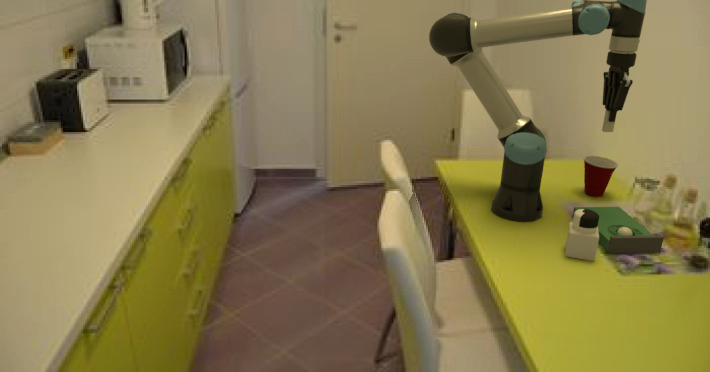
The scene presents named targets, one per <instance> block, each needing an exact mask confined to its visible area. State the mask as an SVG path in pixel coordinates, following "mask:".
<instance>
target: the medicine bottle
mask: <svg viewBox="0 0 710 372" xmlns="http://www.w3.org/2000/svg"><path fill="white" fill-rule="evenodd" d="M572 219H573V220H572V221H570V222H569V225H568V229H567V230H568V231H567V234H566V240H565V257H566V258H571V259H572V258H573V259H579V260H584V261H590V262H591V261H592V262H595V260H596V255H597V251H598V245H599V242H598V241H599V232H598V222H599V215H598V213H596V212H594V211H592V210H589V209H579V210H576V211H575V213H574V217H573V218H572Z"/></svg>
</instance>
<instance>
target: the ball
mask: <svg viewBox="0 0 710 372" xmlns="http://www.w3.org/2000/svg"><path fill="white" fill-rule="evenodd" d="M617 233H618V234H620V235H622V236H633V233H632V231H631V230H630V229H629V228H627V227H621V228H619V229H618V231H617Z"/></svg>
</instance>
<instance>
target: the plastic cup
mask: <svg viewBox="0 0 710 372" xmlns="http://www.w3.org/2000/svg"><path fill="white" fill-rule="evenodd" d="M583 163H584V167H583V169H584V177H583V178H584V179H583V180H584V181H583V182H584V194H585V195H586V196H589V197H593V198H601V197H604V195H605V192H606V189H607V187H608V185H609V183H610V180H611V178H612V175H613V173H614V172H615V170H616V169H617V168H618V167H619V165H620V164H619V163H618V161H615V160H613V159H611V158H608V157H605V156H601V155H600V156H599V155H594V154H593V155H590V154H589V155H585V156H583Z"/></svg>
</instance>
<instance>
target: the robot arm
mask: <svg viewBox="0 0 710 372" xmlns="http://www.w3.org/2000/svg"><path fill="white" fill-rule="evenodd" d="M647 2H648V0H615V1H604V0H603V1H602V0H573V1H572V2H571V5H570V7H569V6H568V7H562V8H556V9H548V10H543V11H542V10H541V11H535V12H528V13H527V12H526V13H521V14H520V13H519V14H514V15H506V16H500V17H491V18H486V19H485V18H484V19H475V18H474V17H473V16H471V17H469V16H467V15H466V14H464V13H460V12H451V13H448V14H446V15H444V16H443V17H440V18H438V19H437V20H436V21H435V22H434V23H433V25H431V28H430V30H429V35H428V42H429V45H430V46H431V48H432V50H433V51H434V52H435V53H436V54H437V55H440V56H441V57H445V58H446V59H447V62H448V63H449V64H450V66H454V67H457V68H458V69H459V70H460V72H461V74H462V75H463V76H464V78H465V79H466V81H467V83H468V85H469V86H470V88H471V89H472V91H473V92H474V94H475V96H476V97H477V99H478V100H479V102H480V103H481V105H482V107H483V108H484V110H485V112H486V113H487V114H488V116H489V117H490V119H491V121H492V122H493V123H494V125H495V127H496V129H497V131H498V134H497V140H498V141H499V142H500V144H501V146H502V147H503V151H504V153H503V160H502V168H501V177H500V184H499V187H498V188H497V191H496V192H495V195H494V197H493V199H492V203H491V208H490V209H491V211H492V212H493V213H494V214H495V215H496V216H498V217H500V218H502V219H506V220H510V221H514V222H532V221H537V220H539V219H541V218H542V216H543V211H544V206H543V205H544V204H543V200H542V195H541V186H542V185H541V184H542V180H543V179H542V178H543V172H544V166H545V159H546V155H547V149H548V148H547V139H546V137H545V134H544V133H543V132H542V130H541V129H540V128H538V127H537V126H536V125H535V124H534V121H533V120H532V119H531V117H530V116H526V115H523V114H522V112H521V111H520V109H519V108H518V106H517V104H516V103H515V101H514V99H513V97H512V96H511V95H510V93H509V92H508V90H507V88H506V87H505V85H504V84H503V82H502V80H501V79H500V77H499V76H498V74H497V73H496V71H495V69H494V68H493V66H492V64H491V63H490V62H489V60H488V58H487V56H486V55H485V54H484V52H483V48H489V47H494V46H495V47H496V46H505V45H510V44H512V45H513V44H518V43H527V42H535V41H542V40H549V39H558V38H564V37H572V36H573V37H574V36H581V35H582V36H583V35H588V36H596V35H599V34H601V33H603V32H604V31H605V30H611V34H610V39H609V44H608V49H609V51H608V52H607V56H606V57H607V58H606V61H605V63H606V65H608V66H609V68H608V71H603V73H602V74H603V88H602V89H603V91H602V92H603V93H602V105H603V106H604V109H605V112H604V113H605V114H604V118H603V122H602V128H601V132H604V133H613V132H614V129H615V124H616V118H617V113H618V111H623V108H624V105H625V103H626V99H627V97H628V94H629V90H630V88H631V87H632V85H633V84H634V83H633V82H634V81H633V79H630V78H629V76H630V68H632V67H634V66H635V64H636V59H637V52H638V49H639V44H640V43H641V42H640V41H641V38H640V37H641V34H642V30H643V29H642V28H643V24H644V21H645V15H646V9H647Z"/></svg>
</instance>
